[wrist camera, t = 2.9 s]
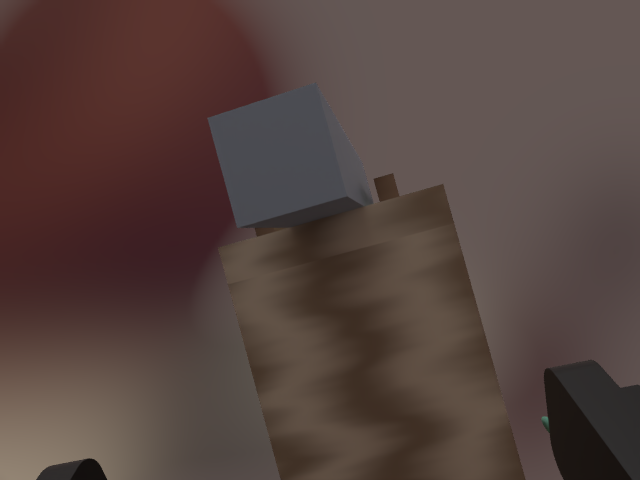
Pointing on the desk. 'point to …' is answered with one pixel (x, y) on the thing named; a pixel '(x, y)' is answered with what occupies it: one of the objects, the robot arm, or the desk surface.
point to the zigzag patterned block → (371, 346)
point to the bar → (288, 161)
